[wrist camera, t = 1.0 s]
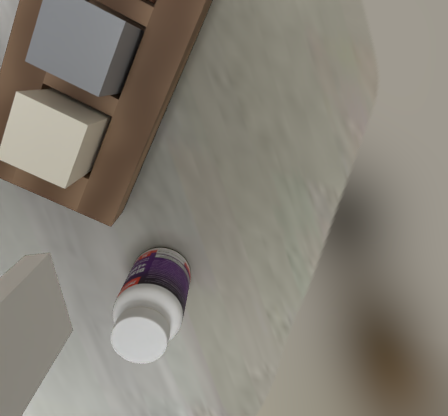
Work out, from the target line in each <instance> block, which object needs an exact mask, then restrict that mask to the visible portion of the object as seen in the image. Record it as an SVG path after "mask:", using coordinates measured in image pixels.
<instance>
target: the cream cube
mask: <svg viewBox="0 0 448 416" xmlns="http://www.w3.org/2000/svg"><path fill="white" fill-rule="evenodd" d="M110 120H111V116H108V115H106V114H104V113H102V112H100V111H98V110H96V109H94V108H92V107H90V106H88V105H86V104H83V103H81V102H79V101H77V100H75V99H73V98H71V97H69V96H67V95H65V94H63V93H61V92H59V91H56V90H54V89H41V90H28V91H16V94H15V97H14V101H13V104H12V108H11V111H10V115H9V118H8V121H7V125H6V128H5V132H4V135H3V139H2V142H1V146H0V160H1V161H3V162H6V163H8V164H10V165H12V166H15V167H17V168H19V169H21V170H24V171H26V172H28V173H30V174H33V175H35V176H37V177H39V178H42V179H44V180H46V181H48V182H51V183H53V184H55V185H57V186H60V187H62V188H64V189H66V188H67V187H68V186H70V185H71V184H73V183H74V182H76V181H77V180H79V179H80V178H81V177H83V176H84V175H86V174H87V173H89V172H90V171H91V170H92V167H93V164H94V162H95V159H96V157H97V154H98V151H99V149H100V146H101V143H102V141H103V138H104V136H105V133H106V130H107V128H108V125H109V122H110Z"/></svg>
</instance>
